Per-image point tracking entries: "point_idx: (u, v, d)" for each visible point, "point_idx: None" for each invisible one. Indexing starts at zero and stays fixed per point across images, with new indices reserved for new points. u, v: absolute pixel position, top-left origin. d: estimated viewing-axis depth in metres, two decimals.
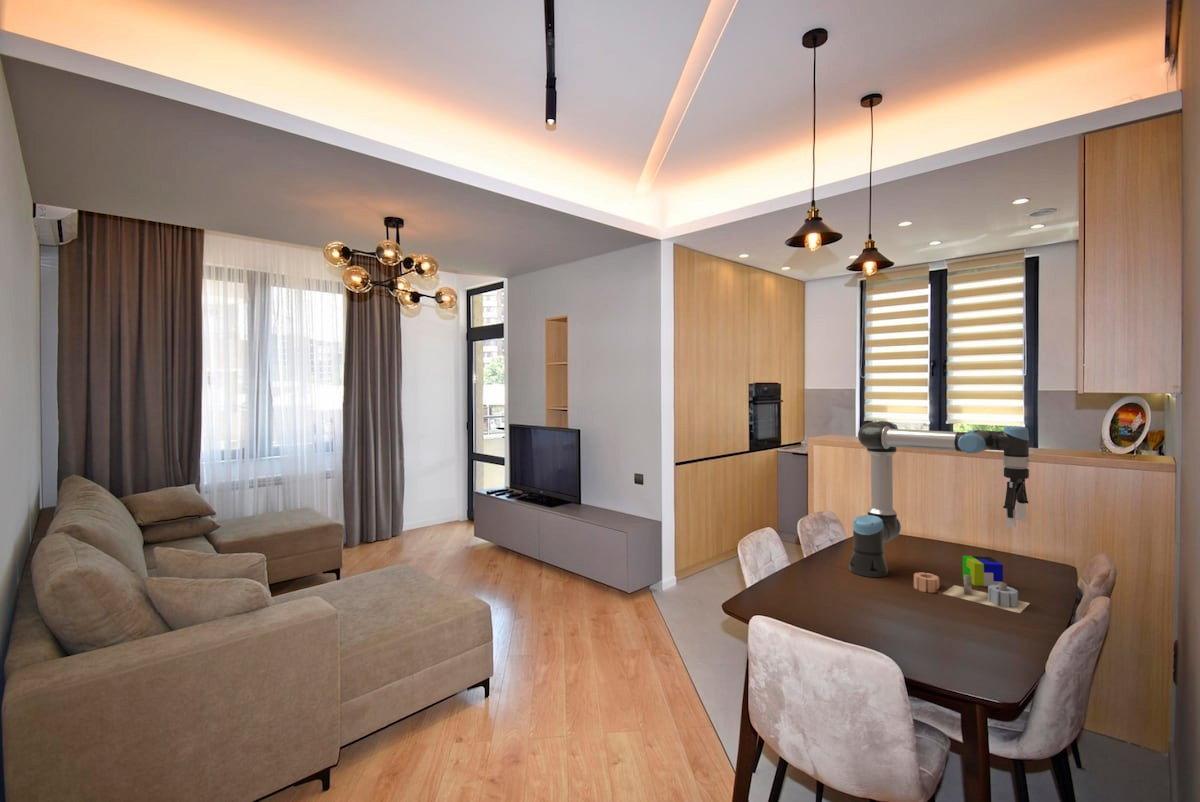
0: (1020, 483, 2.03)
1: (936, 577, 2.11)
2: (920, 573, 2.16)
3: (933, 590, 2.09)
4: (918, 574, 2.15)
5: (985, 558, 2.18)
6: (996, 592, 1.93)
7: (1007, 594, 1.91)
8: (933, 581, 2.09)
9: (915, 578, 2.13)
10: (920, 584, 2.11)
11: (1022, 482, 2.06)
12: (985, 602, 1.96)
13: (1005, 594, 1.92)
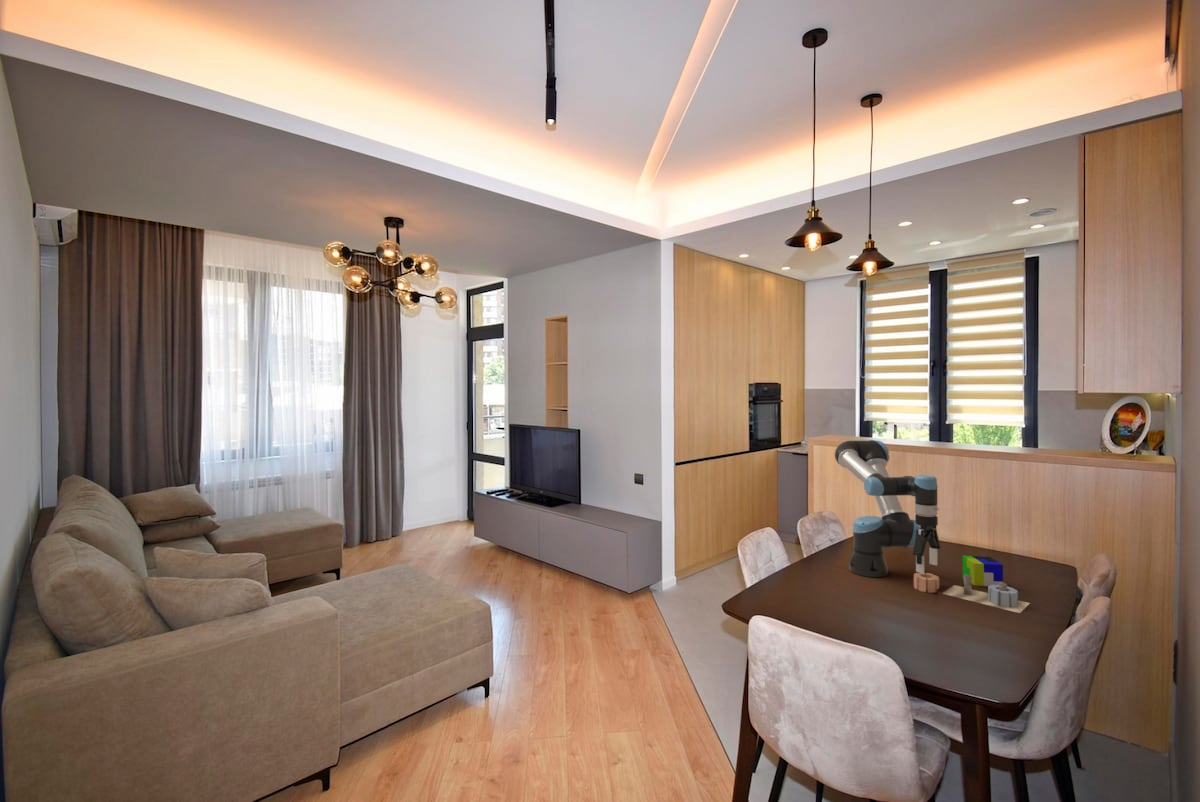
0: (930, 530, 2.12)
1: (936, 577, 2.11)
2: (920, 573, 2.16)
3: (933, 590, 2.09)
4: (918, 574, 2.15)
5: (985, 558, 2.18)
6: (996, 592, 1.93)
7: (1007, 594, 1.91)
8: (933, 581, 2.09)
9: (915, 578, 2.13)
10: (920, 584, 2.11)
11: (933, 528, 2.15)
12: (985, 602, 1.96)
13: (1005, 594, 1.92)
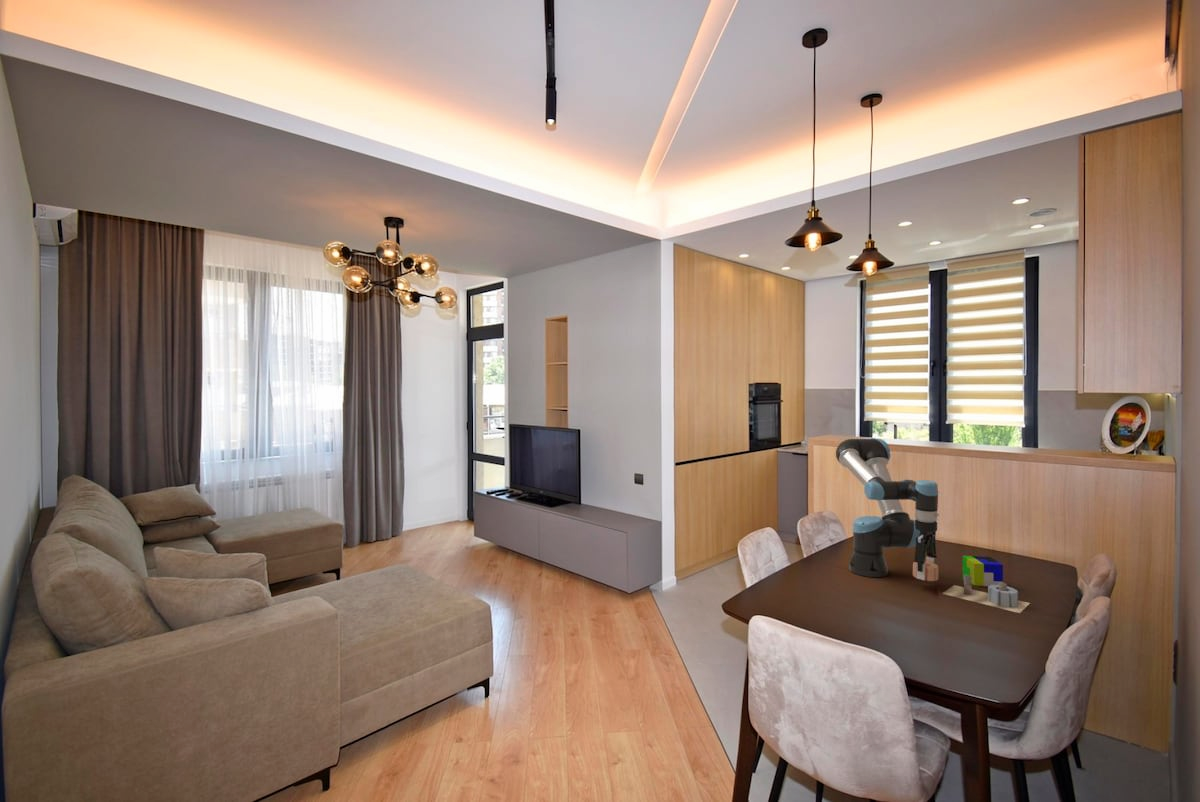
0: (930, 535, 2.13)
1: (935, 565, 2.12)
2: None
3: (932, 578, 2.10)
4: None
5: (985, 558, 2.18)
6: (996, 592, 1.93)
7: (1007, 594, 1.91)
8: (932, 570, 2.09)
9: (914, 566, 2.14)
10: None
11: (932, 534, 2.16)
12: (985, 602, 1.96)
13: (1005, 594, 1.92)
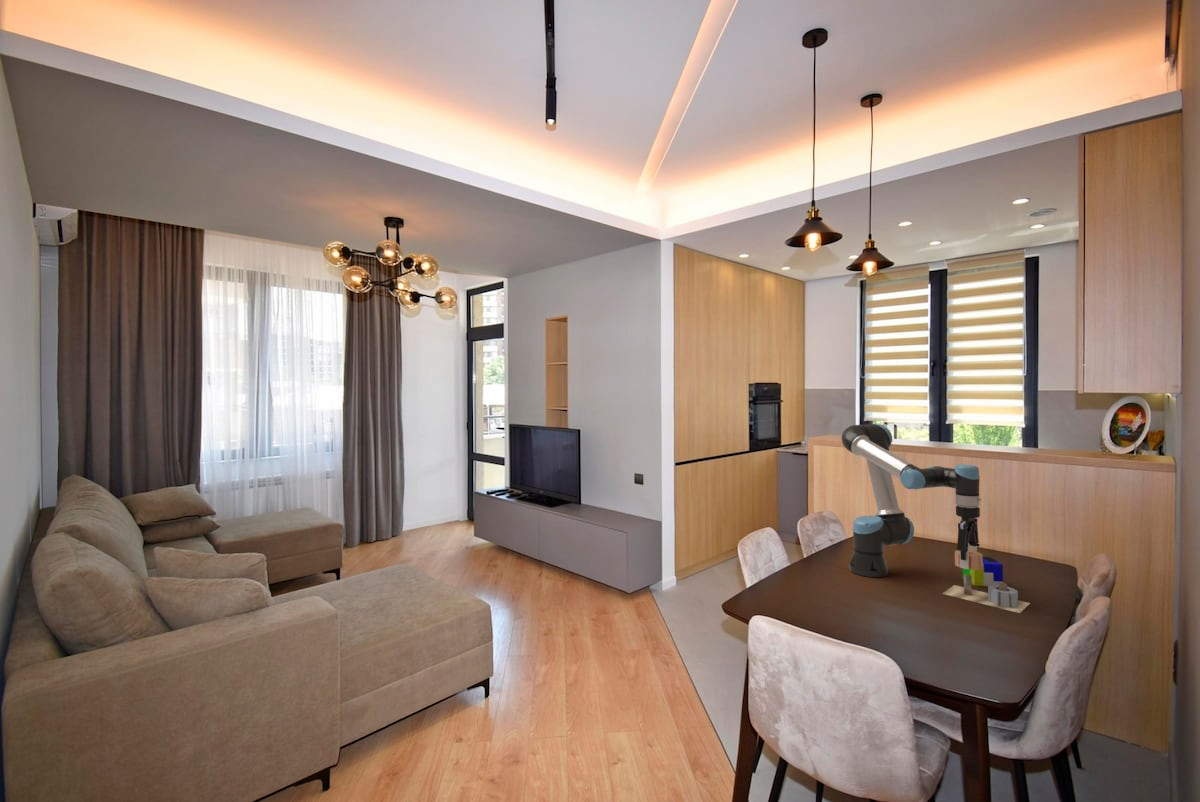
0: (972, 521, 2.03)
1: (979, 554, 2.02)
2: None
3: (976, 567, 1.99)
4: (959, 551, 2.05)
5: (985, 558, 2.18)
6: (996, 592, 1.93)
7: (1007, 594, 1.91)
8: (976, 557, 1.99)
9: (956, 555, 2.04)
10: None
11: (974, 522, 2.06)
12: (985, 602, 1.96)
13: (1005, 594, 1.92)
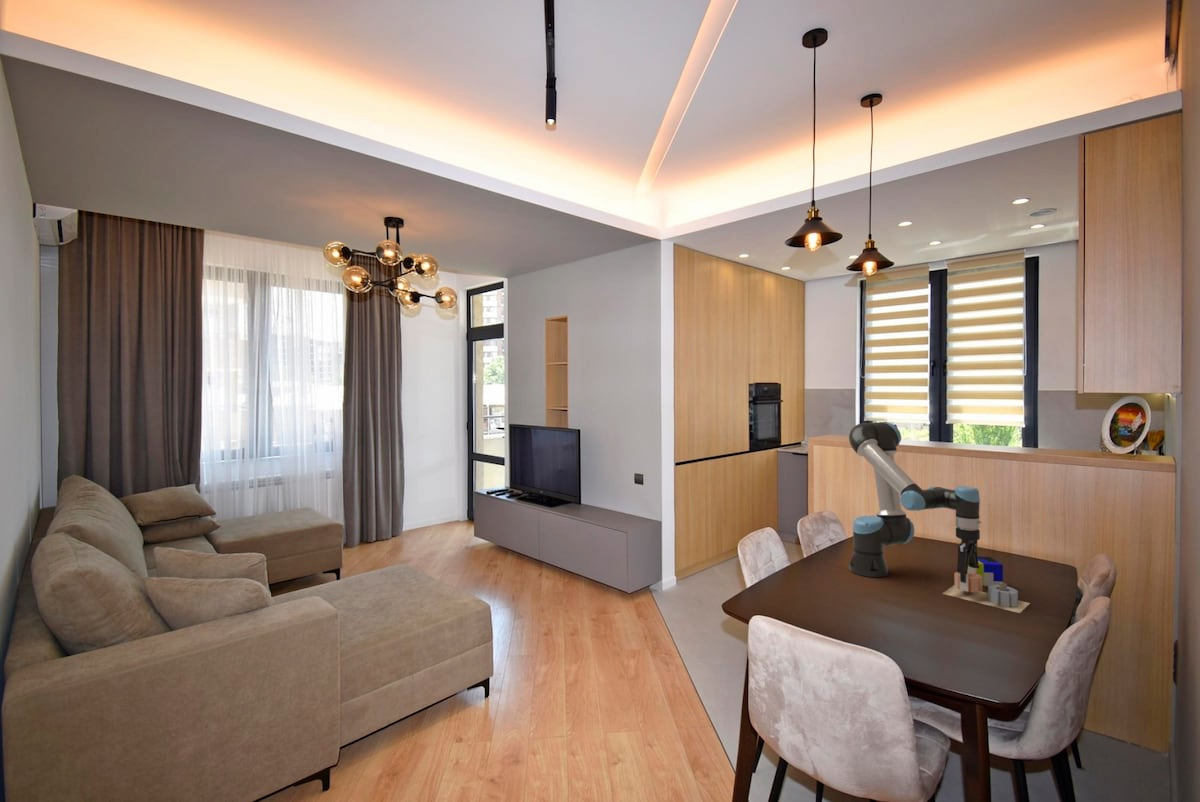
0: (972, 543, 2.03)
1: (979, 576, 2.02)
2: None
3: (976, 589, 2.00)
4: None
5: (985, 558, 2.18)
6: (996, 592, 1.93)
7: (1007, 594, 1.91)
8: (976, 580, 2.00)
9: (956, 577, 2.04)
10: None
11: (974, 543, 2.06)
12: (985, 602, 1.96)
13: (1005, 594, 1.92)
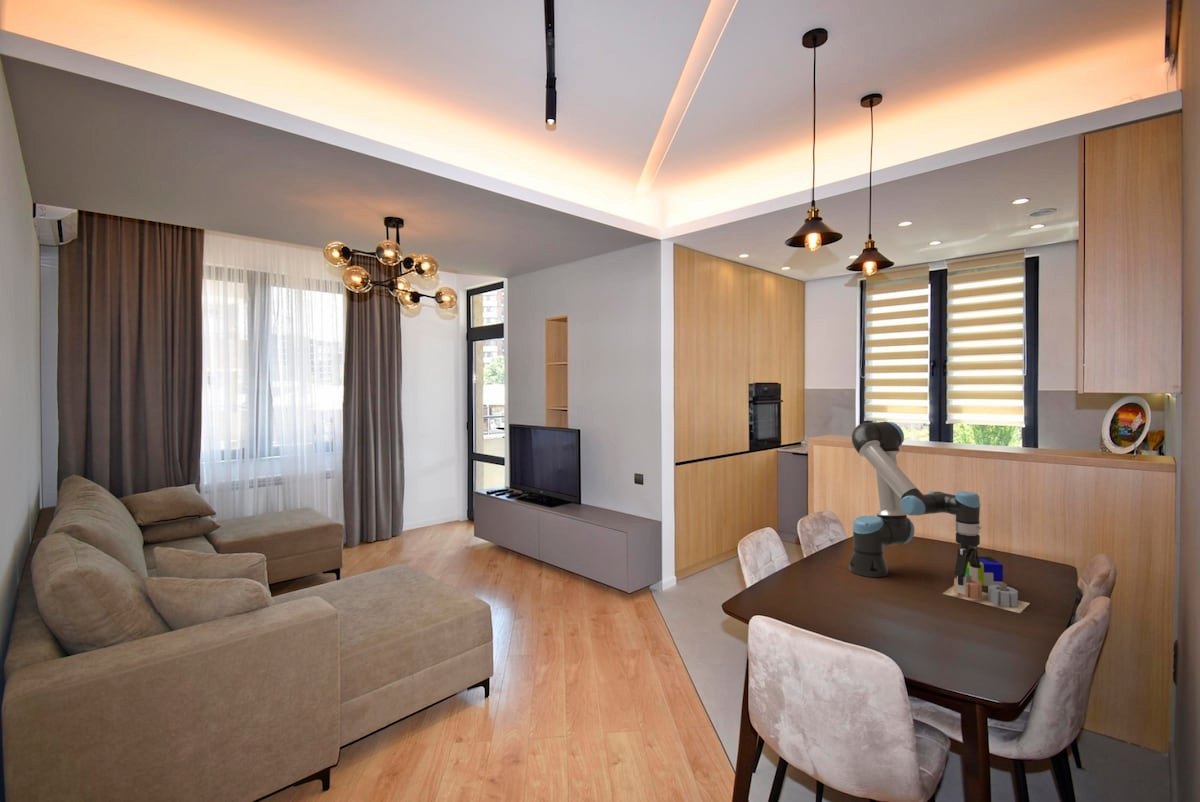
0: (971, 549, 2.03)
1: (978, 582, 2.02)
2: None
3: (976, 596, 2.00)
4: None
5: (985, 558, 2.18)
6: (996, 592, 1.93)
7: (1007, 594, 1.91)
8: (976, 586, 2.00)
9: (956, 583, 2.04)
10: None
11: (974, 547, 2.06)
12: (985, 602, 1.96)
13: (1005, 594, 1.92)
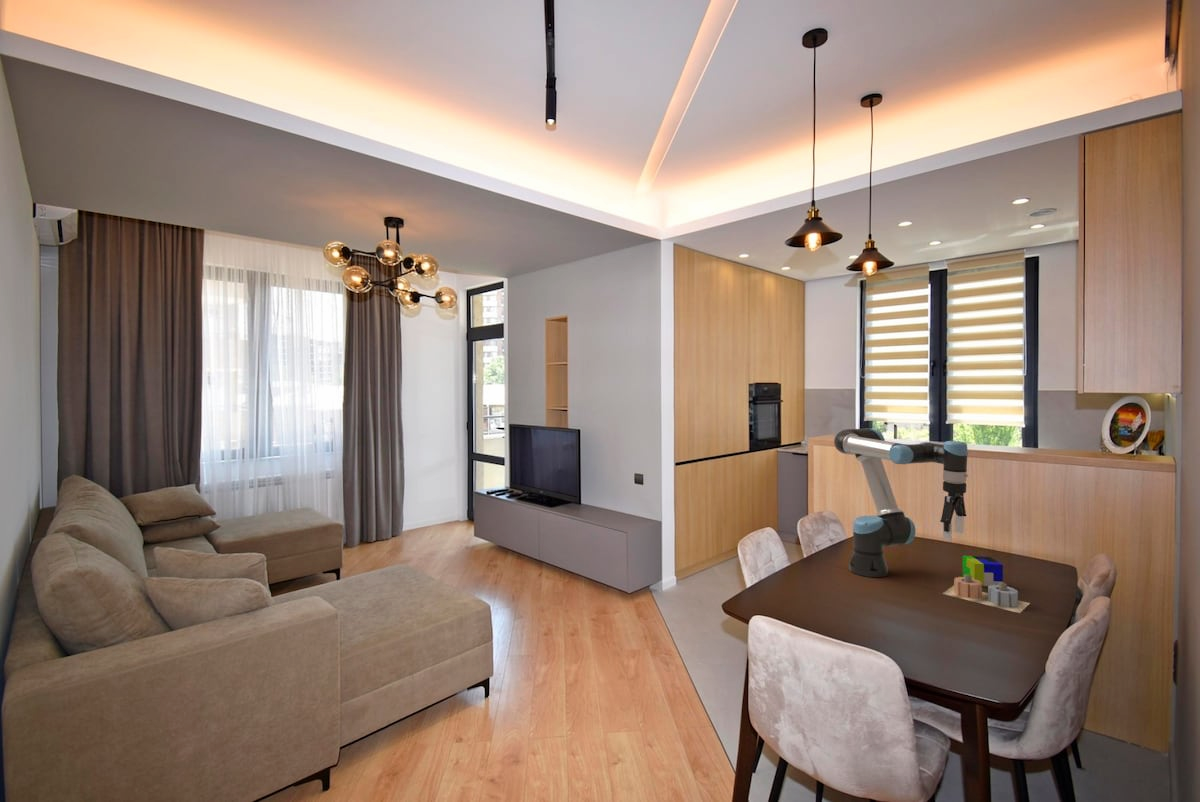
0: (958, 497, 2.06)
1: (978, 582, 2.02)
2: (960, 578, 2.07)
3: (976, 596, 2.00)
4: (959, 579, 2.06)
5: (985, 558, 2.18)
6: (996, 592, 1.93)
7: (1007, 594, 1.91)
8: (976, 586, 2.00)
9: (956, 583, 2.04)
10: (962, 589, 2.02)
11: (960, 496, 2.09)
12: (985, 602, 1.96)
13: (1005, 594, 1.92)
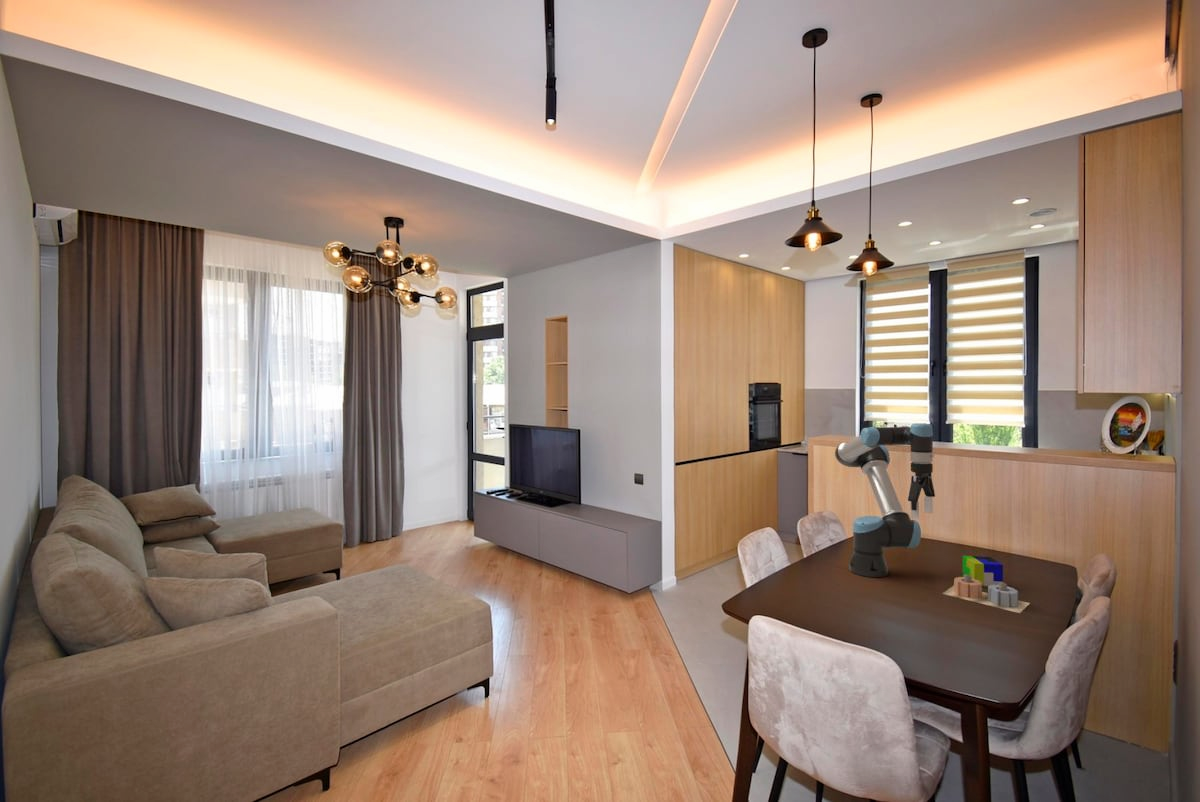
0: (925, 477, 2.14)
1: (978, 582, 2.02)
2: (960, 578, 2.07)
3: (976, 596, 2.00)
4: (959, 579, 2.06)
5: (985, 558, 2.18)
6: (996, 592, 1.93)
7: (1007, 594, 1.91)
8: (976, 586, 2.00)
9: (956, 583, 2.04)
10: (962, 589, 2.02)
11: (928, 476, 2.17)
12: (985, 602, 1.96)
13: (1005, 594, 1.92)
